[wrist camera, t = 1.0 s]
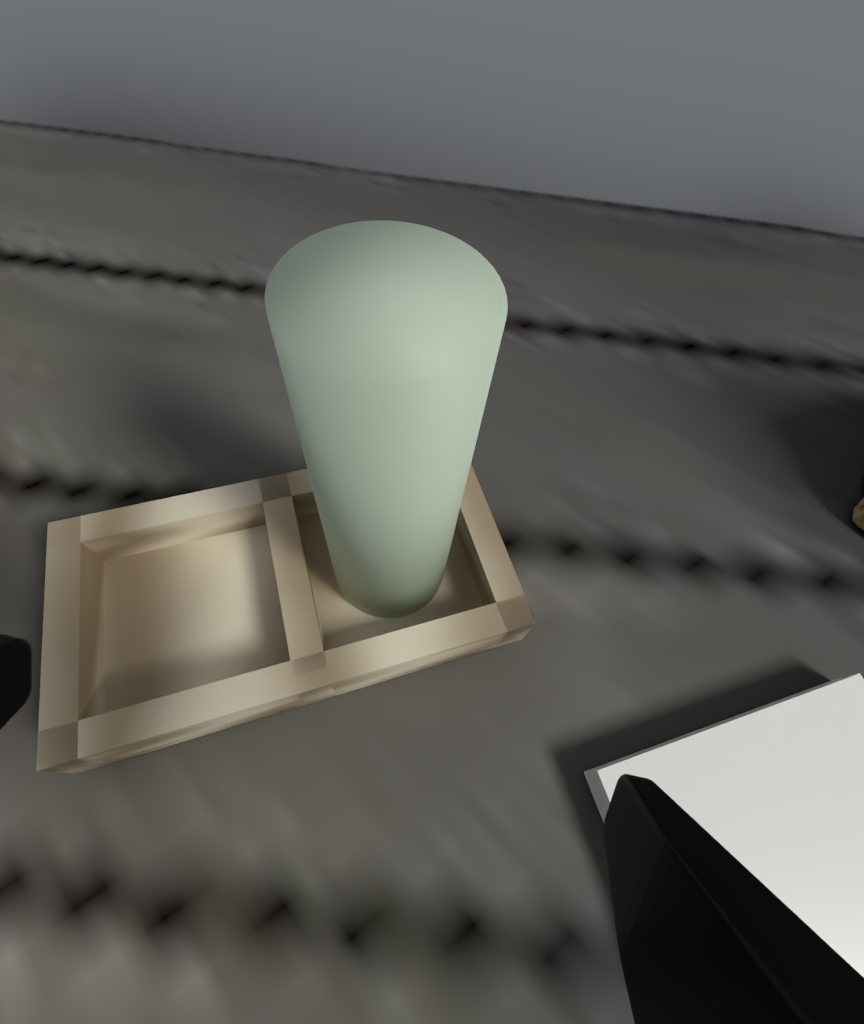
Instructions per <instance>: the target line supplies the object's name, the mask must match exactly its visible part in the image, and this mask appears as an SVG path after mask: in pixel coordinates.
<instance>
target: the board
mask: <svg viewBox="0 0 864 1024" xmlns="http://www.w3.org/2000/svg"><path fill="white" fill-rule="evenodd" d="M624 774H630V775H634V776H639V777H643V778H648V779H650V780H652V781H653V782H654V783H656V784H657V785H658V786H659V787H660V788H661V789H662V790H663V791H664V792H665V793H666V794H667V795H668V796H669V797H671V798H672V799H673V800H674V801H675V802H676V803H677V804H678V805H679V806H680V807H681V808H682V809H683V810H684V811H686V812H687V813H688V814H689V815H690V816H691V817H692V818H693V819H694V820H695V821H696V822H697V823H698V824H699V825H701V826H702V827H703V828H704V829H705V830H706V831H707V832H708V833H709V834H710V835H711V836H712V837H713V838H715V839H716V840H717V841H718V842H719V843H720V844H721V845H722V846H723V847H724V848H725V849H726V850H727V851H728V852H730V853H731V854H732V855H733V856H734V857H735V858H736V859H737V860H738V861H739V862H740V863H741V864H742V865H743V866H745V867H746V868H747V869H748V870H749V871H750V872H751V873H752V874H753V875H754V876H755V877H756V878H757V879H758V880H760V881H761V882H762V883H763V884H764V885H765V886H766V887H767V888H768V889H769V890H770V891H771V892H772V893H773V894H775V895H776V896H777V897H778V898H779V899H780V900H781V901H782V902H783V903H784V904H785V905H786V906H787V907H789V908H790V909H791V910H792V911H793V912H794V913H795V914H796V915H797V916H798V917H799V918H800V919H801V920H802V921H804V922H805V923H806V924H807V925H808V926H809V927H810V928H811V929H812V930H813V931H814V932H815V933H816V934H817V935H819V936H820V937H821V938H822V939H823V940H824V941H825V942H826V943H827V944H828V945H829V946H830V947H831V948H832V949H834V950H835V951H836V952H837V953H838V954H839V955H840V956H841V957H842V958H843V959H844V960H845V961H846V962H847V963H849V964H850V965H851V966H852V967H853V968H854V969H855V970H856V971H857V972H858V973H859V974H860V975H861V976H863V977H864V679H863V677H862V676H861V674H860V673H859V674H855V675H851V676H847V677H843V678H839V679H835V680H831V681H828V682H826V683H823V684H820V685H818V686H815V687H812V688H809V689H807V690H804V691H801V692H799V693H796V694H793V695H790V696H788V697H785V698H782V699H780V700H777V701H774V702H771V703H769V704H766V705H763V706H761V707H758V708H755V709H752V710H750V711H747V712H744V713H742V714H739V715H736V716H733V717H731V718H728V719H725V720H723V721H720V722H717V723H714V724H712V725H709V726H706V727H704V728H701V729H698V730H695V731H693V732H690V733H687V734H685V735H682V736H679V737H676V738H674V739H671V740H668V741H666V742H663V743H660V744H657V745H655V746H652V747H649V748H647V749H644V750H641V751H638V752H636V753H633V754H630V755H628V756H625V757H622V758H619V759H617V760H614V761H611V762H609V763H606V764H603V765H600V766H598V767H595V768H592V769H590V770H587V771H584V775H585V777H586V780H587V782H588V785H589V788H590V790H591V793H592V795H593V798H594V800H595V803H596V805H597V808H598V810H599V813H600V815H601V818H602V820H603V823H604V820H605V817H606V813H607V810H608V807H609V804H610V801H611V798H612V795H613V792H614V789H615V786H616V783H617V781H618V779H619V778H620V776H621V775H624Z"/></svg>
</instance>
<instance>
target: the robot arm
mask: <svg viewBox="0 0 864 1024" xmlns="http://www.w3.org/2000/svg"><path fill="white" fill-rule="evenodd" d="M31 689H32V647H31V644H30V643H29V642H28V641H27V640H25V639H21V638H17V637H12V636H8V635H1V634H0V729H1V728H2V727H3V726H4V725H5V724H6V723H7V722H8V721H9V720H10V719H11V718H12V717H13V716H14V715H15V714H16V713H17V711H18V710H19V709H20V708H21V707H22V706H23V705H24V704H25V702H26V701H27V699H28V697H29V695H30V692H31ZM603 834H604V844H605V851H606V858H607V866H608V873H609V881H610V888H611V895H612V903H613V910H614V918H615V925H616V932H617V939H618V946H619V952H620V958H621V963H622V968H623V973H624V978H625V982H626V987H627V991H628V996H629V1000H630V1004H631V1009H632V1013H633V1017H634V1022H635V1024H864V977H863V976H861V975H860V974H859V973H858V972H857V971H856V970H855V969H854V968H853V967H852V966H851V965H850V964H849V963H847V962H846V961H845V960H844V959H843V958H842V957H841V956H840V955H839V954H838V953H837V952H836V951H835V950H834V949H832V948H831V947H830V946H829V945H828V944H827V943H826V942H825V941H824V940H823V939H822V938H821V937H820V936H819V935H817V934H816V933H815V932H814V931H813V930H812V929H811V928H810V927H809V926H808V925H807V924H806V923H805V922H804V921H802V920H801V919H800V918H799V917H798V916H797V915H796V914H795V913H794V912H793V911H792V910H791V909H790V908H789V907H787V906H786V905H785V904H784V903H783V902H782V901H781V900H780V899H779V898H778V897H777V896H776V895H775V894H773V893H772V892H771V891H770V890H769V889H768V888H767V887H766V886H765V885H764V884H763V883H762V882H761V881H760V880H758V879H757V878H756V877H755V876H754V875H753V874H752V873H751V872H750V871H749V870H748V869H747V868H746V867H745V866H743V865H742V864H741V863H740V862H739V861H738V860H737V859H736V858H735V857H734V856H733V855H732V854H731V853H730V852H728V851H727V850H726V849H725V848H724V847H723V846H722V845H721V844H720V843H719V842H718V841H717V840H716V839H715V838H713V837H712V836H711V835H710V834H709V833H708V832H707V831H706V830H705V829H704V828H703V827H702V826H701V825H699V824H698V823H697V822H696V821H695V820H694V819H693V818H692V817H691V816H690V815H689V814H688V813H687V812H686V811H684V810H683V809H682V808H681V807H680V806H679V805H678V804H677V803H676V802H675V801H674V800H673V799H672V798H671V797H669V796H668V795H667V794H666V793H665V792H664V791H663V790H662V789H661V788H660V787H659V786H658V785H657V784H656V783H654V782H653V781H652V780H650V779H648V778H643V777H639V776H634V775H630V774H624V775H621V776H620V778H619V779H618V781H617V783H616V786H615V789H614V792H613V795H612V798H611V801H610V804H609V807H608V810H607V813H606V817H605V820H604V829H603Z"/></svg>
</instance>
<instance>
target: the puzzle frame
mask: <svg viewBox="0 0 864 1024" xmlns="http://www.w3.org/2000/svg"><path fill="white" fill-rule="evenodd" d="M535 624H536V622H535V619H534V617H533V615H532V612H531V610H530V607H529V605H528V602H527V600H526V597H525V595H524V592H523V590H522V588H521V585H520V583H519V580H518V578H517V575H516V573H515V570H514V568H513V565H512V563H511V560H510V558H509V556H508V553H507V551H506V548H505V546H504V543H503V541H502V538H501V536H500V533H499V531H498V529H497V526H496V524H495V521H494V519H493V516H492V514H491V511H490V509H489V506H488V504H487V502H486V499H485V497H484V494H483V492H482V489H481V487H480V484H479V482H478V479H477V477H476V474H475V472H474V470H473V467H472V465H470V469H469V473H468V477H467V481H466V486H465V490H464V494H463V498H462V502H461V506H460V510H459V514H458V518H457V522H456V527H455V531H454V535H453V539H452V543H451V547H450V551H449V555H448V559H447V563H446V568H445V572H444V576H443V579H442V583H441V585H440V588H439V590H438V591H437V593H436V595H435V596H434V597H433V598H432V600H431V601H430V602H429V603H428V604H427V605H425V606H424V607H423V608H421V609H420V610H418V611H416V612H414V613H412V614H410V615H407V616H404V617H399V618H379V617H374V616H371V615H368V614H366V613H364V612H361V611H360V610H358V609H357V608H355V607H354V606H353V605H352V604H350V603H349V602H348V600H347V599H346V598H345V597H344V595H343V594H342V592H341V591H340V588H339V586H338V584H337V580H336V577H335V573H334V569H333V565H332V562H331V558H330V554H329V550H328V546H327V543H326V539H325V535H324V531H323V527H322V523H321V520H320V516H319V512H318V508H317V504H316V500H315V497H314V493H313V489H312V485H311V481H310V477H309V474H308V470H307V469H303V470H298V471H294V472H289V473H284V474H279V475H274V476H270V477H265V478H260V479H255V480H250V481H246V482H241V483H236V484H231V485H226V486H222V487H217V488H212V489H207V490H202V491H198V492H193V493H188V494H183V495H179V496H174V497H169V498H164V499H159V500H155V501H150V502H145V503H140V504H135V505H131V506H126V507H121V508H116V509H111V510H107V511H102V512H97V513H92V514H87V515H83V516H78V517H73V518H68V519H63V520H59V521H54V522H49V523H48V528H47V550H46V572H45V593H44V615H43V636H42V658H41V680H40V701H39V723H38V744H37V766H36V771H42V772H61V773H82V772H85V771H88V770H92V769H95V768H98V767H102V766H105V765H108V764H112V763H115V762H118V761H122V760H125V759H128V758H131V757H135V756H138V755H141V754H145V753H148V752H151V751H155V750H158V749H161V748H165V747H168V746H171V745H175V744H178V743H181V742H184V741H188V740H191V739H194V738H198V737H201V736H204V735H208V734H211V733H214V732H218V731H221V730H224V729H228V728H231V727H234V726H238V725H241V724H244V723H247V722H251V721H254V720H257V719H261V718H264V717H267V716H271V715H274V714H277V713H281V712H284V711H287V710H291V709H294V708H297V707H301V706H304V705H307V704H310V703H314V702H317V701H320V700H324V699H327V698H330V697H334V696H337V695H340V694H344V693H347V692H350V691H354V690H357V689H360V688H364V687H367V686H370V685H373V684H377V683H380V682H383V681H387V680H390V679H393V678H397V677H400V676H403V675H407V674H410V673H413V672H417V671H420V670H423V669H427V668H430V667H433V666H436V665H440V664H443V663H446V662H450V661H453V660H456V659H460V658H463V657H466V656H470V655H473V654H476V653H480V652H483V651H486V650H490V649H493V648H496V647H499V646H503V645H506V644H509V643H513V642H516V641H519V640H522V639H523V638H524V636H525V635H526V634H527V633H528V632H529V631H530V629H531V628H532V627H533V626H534V625H535Z"/></svg>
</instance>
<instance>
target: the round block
mask: <svg viewBox="0 0 864 1024" xmlns="http://www.w3.org/2000/svg"><path fill="white" fill-rule="evenodd" d="M265 307H266V313H267V317H268V321H269V325H270V328H271V332H272V336H273V340H274V344H275V347H276V351H277V355H278V359H279V363H280V367H281V370H282V374H283V378H284V382H285V386H286V390H287V393H288V397H289V401H290V405H291V409H292V412H293V416H294V420H295V424H296V428H297V432H298V435H299V439H300V443H301V447H302V451H303V455H304V458H305V462H306V466H307V470H308V474H309V477H310V481H311V485H312V489H313V493H314V497H315V500H316V504H317V508H318V512H319V516H320V520H321V523H322V527H323V531H324V535H325V539H326V543H327V546H328V550H329V554H330V558H331V562H332V565H333V569H334V573H335V577H336V580H337V584H338V586H339V588H340V591H341V592H342V594H343V595H344V597H345V598H346V599H347V600H348V602H349V603H350V604H352V605H353V606H354V607H355V608H357V609H358V610H360V611H361V612H364V613H366V614H368V615H371V616H374V617H379V618H399V617H404V616H407V615H410V614H412V613H414V612H416V611H418V610H420V609H421V608H423V607H424V606H425V605H427V604H428V603H429V602H430V601H431V600H432V598H433V597H434V596H435V595H436V593H437V591H438V590H439V588H440V585H441V583H442V579H443V576H444V572H445V568H446V563H447V559H448V555H449V551H450V547H451V543H452V539H453V535H454V531H455V527H456V522H457V518H458V514H459V510H460V506H461V502H462V498H463V494H464V490H465V486H466V481H467V477H468V473H469V469H470V465H471V461H472V457H473V453H474V449H475V445H476V440H477V436H478V432H479V428H480V424H481V420H482V416H483V412H484V408H485V404H486V399H487V395H488V391H489V387H490V383H491V379H492V375H493V371H494V367H495V363H496V358H497V354H498V350H499V346H500V342H501V338H502V334H503V330H504V326H505V322H506V317H507V309H508V306H507V296H506V292H505V288H504V285H503V283H502V281H501V279H500V277H499V275H498V274H497V272H496V270H495V269H494V267H493V266H492V265H491V264H490V263H489V262H488V261H487V259H486V258H484V257H483V256H482V255H481V254H480V253H479V252H478V251H476V250H475V249H474V248H472V247H471V246H469V245H468V244H466V243H465V242H463V241H461V240H459V239H458V238H456V237H454V236H451V235H449V234H447V233H445V232H442V231H439V230H436V229H433V228H430V227H426V226H422V225H418V224H413V223H407V222H399V221H362V222H355V223H348V224H344V225H340V226H335V227H332V228H329V229H326V230H323V231H320V232H318V233H316V234H314V235H312V236H310V237H308V238H306V239H304V240H303V241H301V242H299V243H298V244H296V245H295V246H294V247H293V248H291V249H290V250H289V251H288V252H287V253H286V254H285V255H284V256H283V257H282V258H281V259H280V260H279V261H278V263H277V264H276V265H275V267H274V268H273V270H272V272H271V274H270V276H269V278H268V282H267V285H266V289H265Z"/></svg>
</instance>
